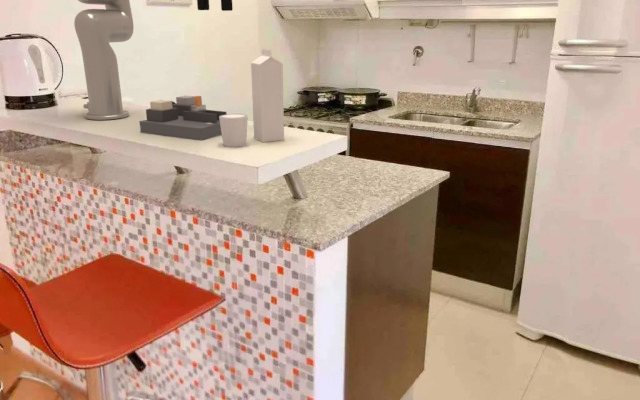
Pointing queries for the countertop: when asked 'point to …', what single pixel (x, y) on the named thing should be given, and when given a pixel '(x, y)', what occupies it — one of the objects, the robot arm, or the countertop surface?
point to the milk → (267, 98)
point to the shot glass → (234, 129)
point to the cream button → (161, 105)
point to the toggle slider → (198, 105)
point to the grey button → (185, 100)
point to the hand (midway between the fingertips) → (215, 10)
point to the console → (182, 122)
